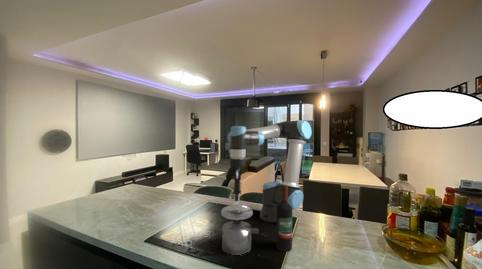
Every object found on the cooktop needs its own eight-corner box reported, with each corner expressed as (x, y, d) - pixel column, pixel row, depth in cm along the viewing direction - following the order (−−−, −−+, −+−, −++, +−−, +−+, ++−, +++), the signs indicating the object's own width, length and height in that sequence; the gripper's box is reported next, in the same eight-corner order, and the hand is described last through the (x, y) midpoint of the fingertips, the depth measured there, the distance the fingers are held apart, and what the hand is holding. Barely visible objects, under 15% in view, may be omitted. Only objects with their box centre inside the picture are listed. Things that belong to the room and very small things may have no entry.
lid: (221, 220, 109) (222, 217, 111) (251, 220, 110) (251, 217, 111) (220, 206, 98) (220, 202, 99) (253, 206, 98) (253, 203, 99)
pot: (216, 239, 108) (216, 220, 108) (257, 240, 109) (257, 220, 109) (212, 255, 94) (213, 233, 94) (260, 255, 95) (260, 233, 95)
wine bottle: (289, 243, 106) (290, 183, 106) (293, 251, 98) (294, 187, 98) (274, 243, 105) (275, 183, 105) (277, 251, 98) (278, 187, 98)
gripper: (230, 156, 108) (229, 202, 108) (229, 159, 95) (228, 211, 95) (244, 156, 108) (243, 202, 108) (245, 159, 95) (244, 211, 95)
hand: (236, 206), depth 101 cm, fingers closed
